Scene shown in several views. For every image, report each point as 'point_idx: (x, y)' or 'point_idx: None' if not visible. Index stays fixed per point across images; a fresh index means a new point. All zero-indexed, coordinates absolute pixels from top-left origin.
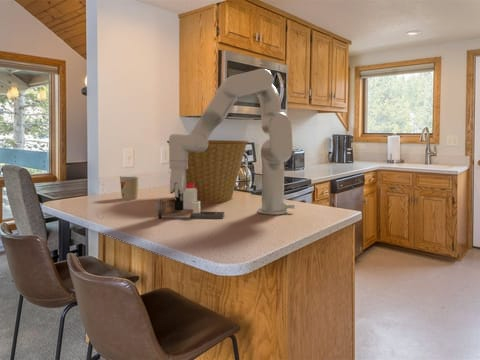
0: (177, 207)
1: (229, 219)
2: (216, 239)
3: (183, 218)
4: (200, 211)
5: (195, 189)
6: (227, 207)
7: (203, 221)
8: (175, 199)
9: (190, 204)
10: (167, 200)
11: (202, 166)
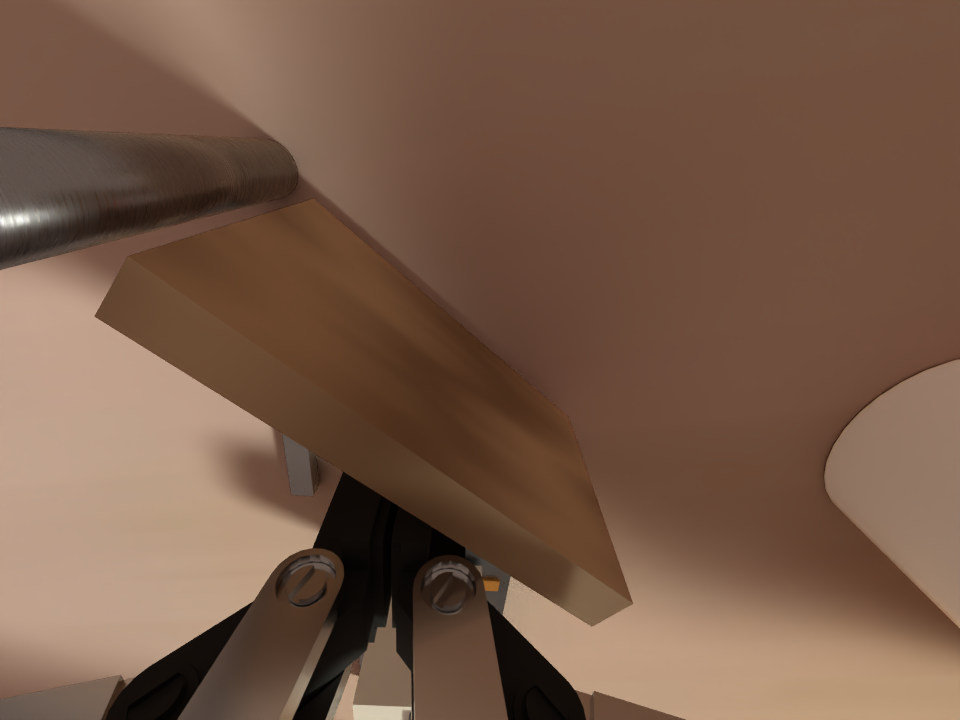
0: (346, 478)
1: (352, 704)
2: None
3: (290, 462)
4: (504, 599)
5: None
6: (791, 692)
7: (246, 595)
8: (273, 586)
9: (873, 519)
10: (259, 409)
11: None
